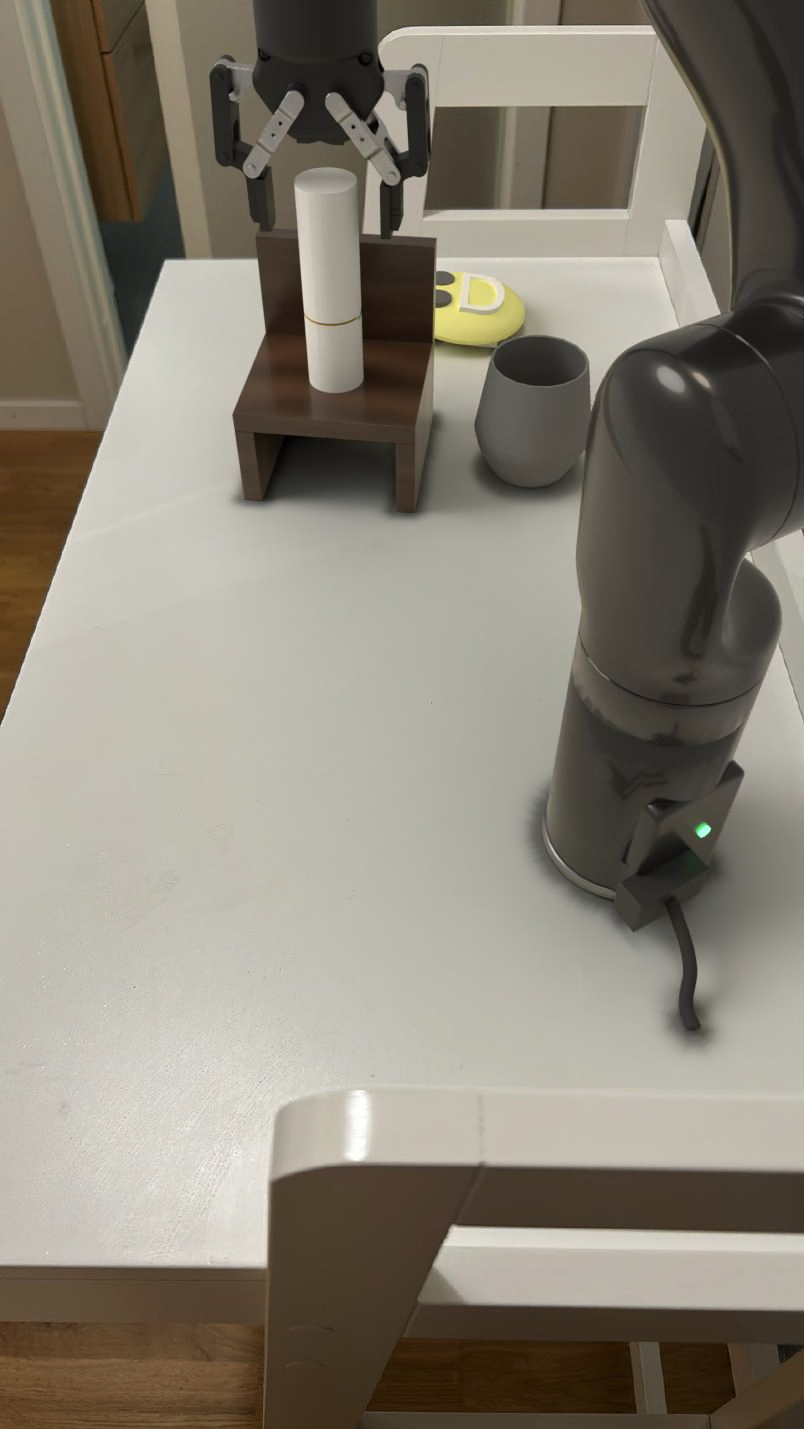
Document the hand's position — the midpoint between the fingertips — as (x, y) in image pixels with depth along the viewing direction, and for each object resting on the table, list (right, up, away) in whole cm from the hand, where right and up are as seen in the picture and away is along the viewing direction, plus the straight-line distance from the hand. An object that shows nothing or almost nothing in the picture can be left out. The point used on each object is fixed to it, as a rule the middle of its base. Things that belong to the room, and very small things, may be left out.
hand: (328, 231), depth 74 cm
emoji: (+11, +4, +29) cm, 32 cm away
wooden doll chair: (0, -13, +15) cm, 20 cm away
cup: (+16, -13, +14) cm, 25 cm away
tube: (0, -8, +9) cm, 12 cm away
